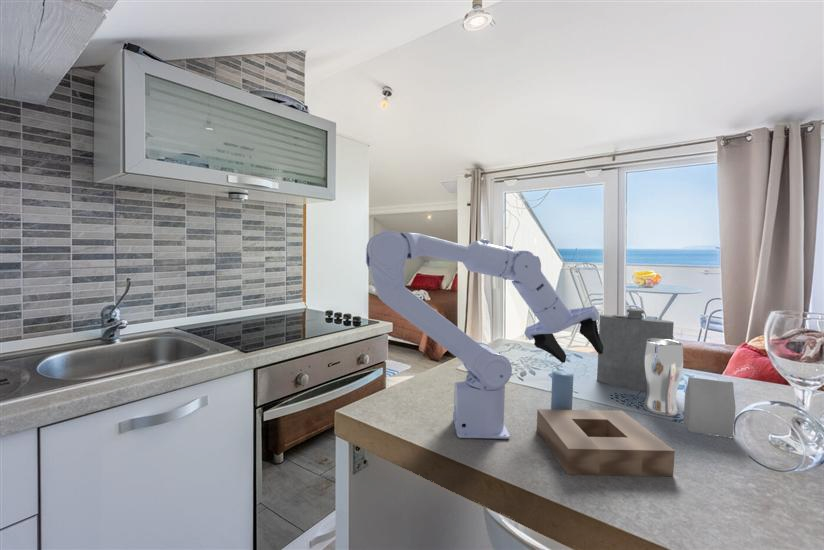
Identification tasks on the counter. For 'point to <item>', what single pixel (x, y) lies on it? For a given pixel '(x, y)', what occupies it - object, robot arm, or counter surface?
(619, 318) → the hip flask
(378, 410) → the counter surface
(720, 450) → the counter surface
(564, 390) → the peg
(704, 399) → the grey angular block
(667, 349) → the silver metal tumbler
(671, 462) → the socket board
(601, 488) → the counter surface
